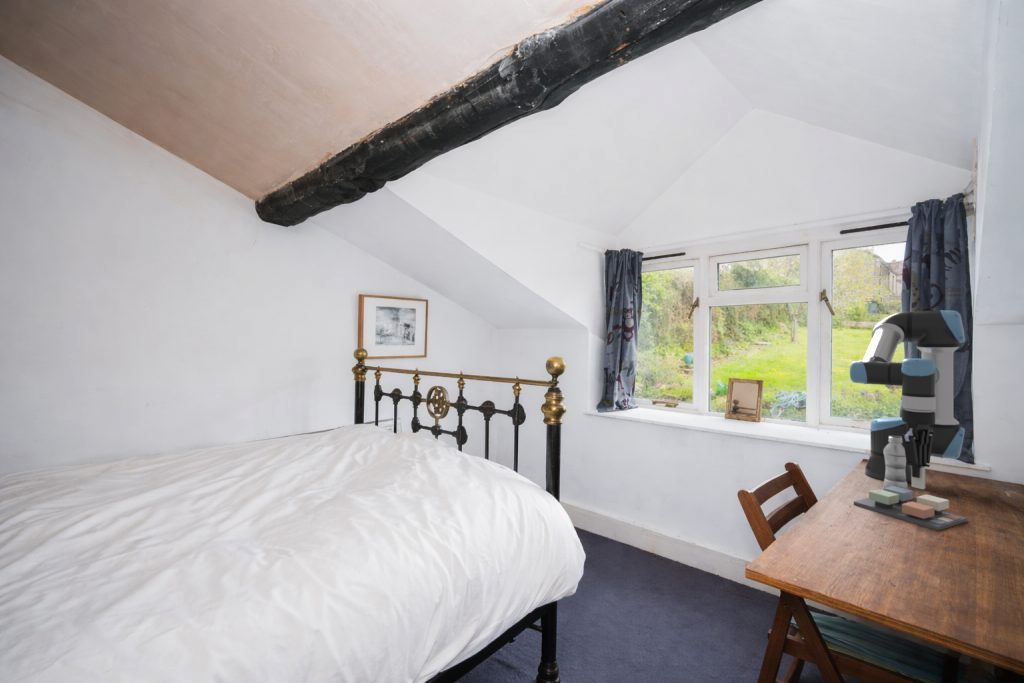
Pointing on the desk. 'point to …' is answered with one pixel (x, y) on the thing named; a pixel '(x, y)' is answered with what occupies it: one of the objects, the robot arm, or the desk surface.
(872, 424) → the robot arm
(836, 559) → the desk surface
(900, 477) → the plastic bottle
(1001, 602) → the desk surface
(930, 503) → the key cream
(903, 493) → the key slate
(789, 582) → the desk surface
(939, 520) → the keypad
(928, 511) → the key terracotta
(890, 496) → the key sage
